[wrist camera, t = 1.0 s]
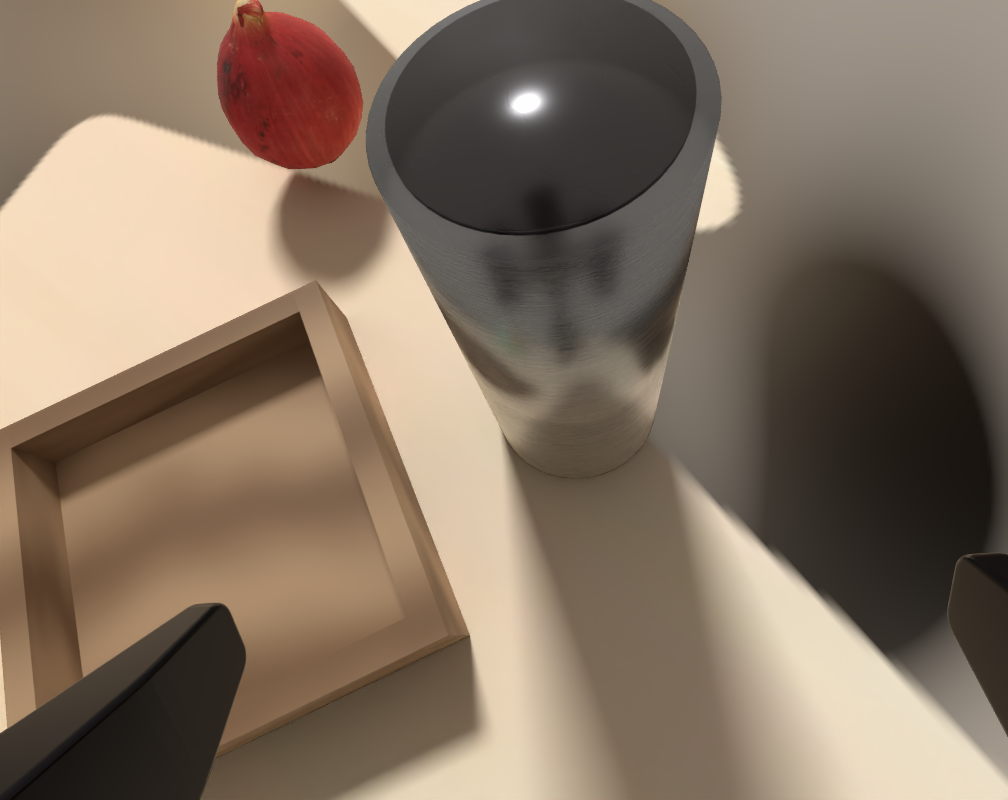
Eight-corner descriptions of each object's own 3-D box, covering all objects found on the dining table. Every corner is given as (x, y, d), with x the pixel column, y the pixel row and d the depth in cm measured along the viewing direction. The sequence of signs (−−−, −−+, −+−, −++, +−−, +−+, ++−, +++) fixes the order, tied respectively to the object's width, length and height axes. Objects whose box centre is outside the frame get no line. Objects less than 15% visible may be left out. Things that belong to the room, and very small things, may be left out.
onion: (305, 227, 28) (198, 84, 21) (254, 157, 30) (142, 5, 23) (406, 160, 29) (338, -4, 21) (350, 95, 31) (270, -73, 24)
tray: (469, 635, 21) (448, 635, 18) (96, 816, 20) (16, 844, 18) (346, 317, 26) (316, 280, 23) (51, 458, 26) (-16, 436, 23)
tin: (686, 434, 22) (802, 142, 9) (537, 505, 22) (436, 316, 9) (609, 307, 24) (611, -70, 11) (474, 371, 24) (320, 65, 11)
